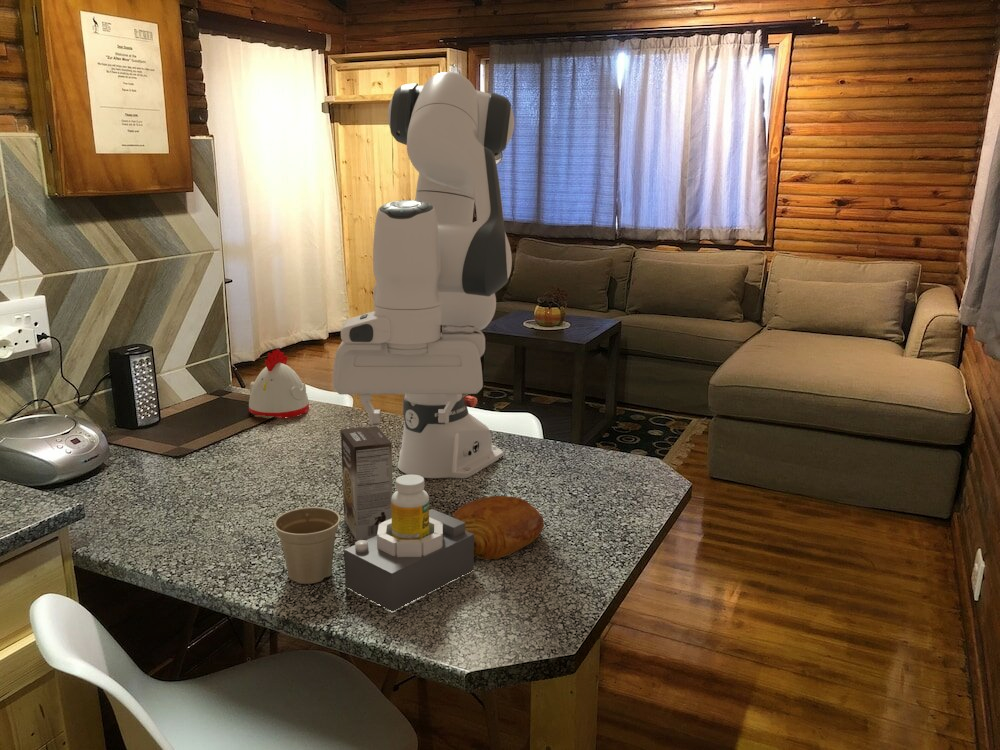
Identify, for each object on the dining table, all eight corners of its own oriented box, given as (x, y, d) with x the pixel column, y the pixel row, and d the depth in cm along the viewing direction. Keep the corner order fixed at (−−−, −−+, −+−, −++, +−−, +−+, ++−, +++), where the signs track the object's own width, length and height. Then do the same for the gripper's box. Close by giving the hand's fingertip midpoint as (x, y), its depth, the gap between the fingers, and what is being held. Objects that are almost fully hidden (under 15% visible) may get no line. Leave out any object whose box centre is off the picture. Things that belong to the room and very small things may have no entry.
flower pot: (267, 569, 120) (263, 515, 118) (326, 553, 125) (324, 501, 123) (291, 597, 113) (288, 540, 111) (353, 578, 118) (351, 524, 116)
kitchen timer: (237, 415, 191) (233, 353, 187) (270, 399, 204) (267, 341, 200) (288, 422, 187) (285, 359, 183) (319, 406, 200) (317, 346, 196)
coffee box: (342, 519, 137) (339, 428, 133) (379, 513, 140) (377, 424, 136) (355, 542, 129) (352, 446, 125) (394, 535, 132) (392, 441, 128)
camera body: (426, 549, 127) (426, 502, 125) (473, 571, 121) (474, 521, 119) (345, 587, 115) (343, 536, 113) (392, 613, 109) (391, 559, 107)
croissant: (556, 550, 133) (563, 504, 131) (493, 572, 121) (501, 521, 120) (490, 522, 142) (497, 478, 140) (426, 539, 130) (432, 492, 129)
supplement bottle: (393, 533, 119) (392, 472, 117) (430, 533, 119) (430, 472, 117) (390, 550, 114) (389, 486, 111) (428, 550, 114) (428, 486, 112)
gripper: (484, 320, 112) (483, 415, 116) (334, 320, 111) (338, 416, 114) (486, 330, 106) (485, 430, 110) (328, 330, 105) (332, 431, 108)
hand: (409, 423), depth 112 cm, fingers open, 8 cm apart
